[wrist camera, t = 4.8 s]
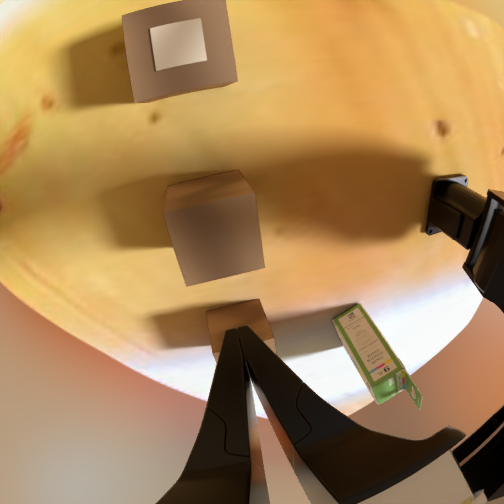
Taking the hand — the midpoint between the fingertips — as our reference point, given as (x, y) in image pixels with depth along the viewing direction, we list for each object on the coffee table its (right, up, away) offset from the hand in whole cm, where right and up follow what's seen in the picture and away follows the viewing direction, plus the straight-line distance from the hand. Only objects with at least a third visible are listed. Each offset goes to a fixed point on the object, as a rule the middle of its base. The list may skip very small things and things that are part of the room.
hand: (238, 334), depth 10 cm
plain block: (-3, +6, +10) cm, 12 cm away
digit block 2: (-1, -4, +16) cm, 17 cm away
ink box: (+12, -6, +21) cm, 25 cm away
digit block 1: (-4, +15, +4) cm, 16 cm away
